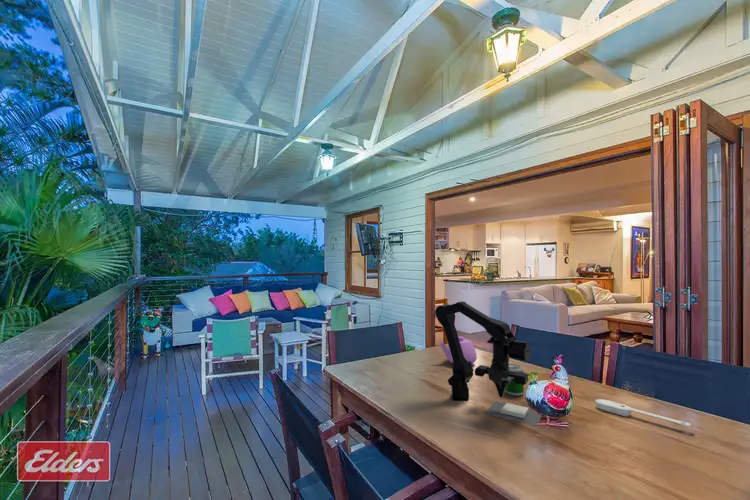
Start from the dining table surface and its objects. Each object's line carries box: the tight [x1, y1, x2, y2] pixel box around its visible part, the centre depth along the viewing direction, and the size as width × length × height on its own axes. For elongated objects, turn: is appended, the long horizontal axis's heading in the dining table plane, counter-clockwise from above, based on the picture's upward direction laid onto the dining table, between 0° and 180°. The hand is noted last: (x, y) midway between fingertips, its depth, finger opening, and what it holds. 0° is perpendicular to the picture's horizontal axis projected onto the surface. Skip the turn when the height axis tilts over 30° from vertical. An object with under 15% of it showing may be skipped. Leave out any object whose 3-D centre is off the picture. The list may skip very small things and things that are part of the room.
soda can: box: [505, 363, 525, 397], centre depth 151 cm, size 8×8×12 cm
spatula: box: [594, 398, 692, 427], centre depth 126 cm, size 28×6×3 cm, turn 38°
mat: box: [484, 400, 543, 427], centre depth 132 cm, size 18×14×1 cm
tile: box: [501, 402, 530, 418], centre depth 132 cm, size 2×7×8 cm
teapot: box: [439, 335, 477, 367], centre depth 197 cm, size 20×20×15 cm
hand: (501, 397), depth 135 cm, fingers closed
